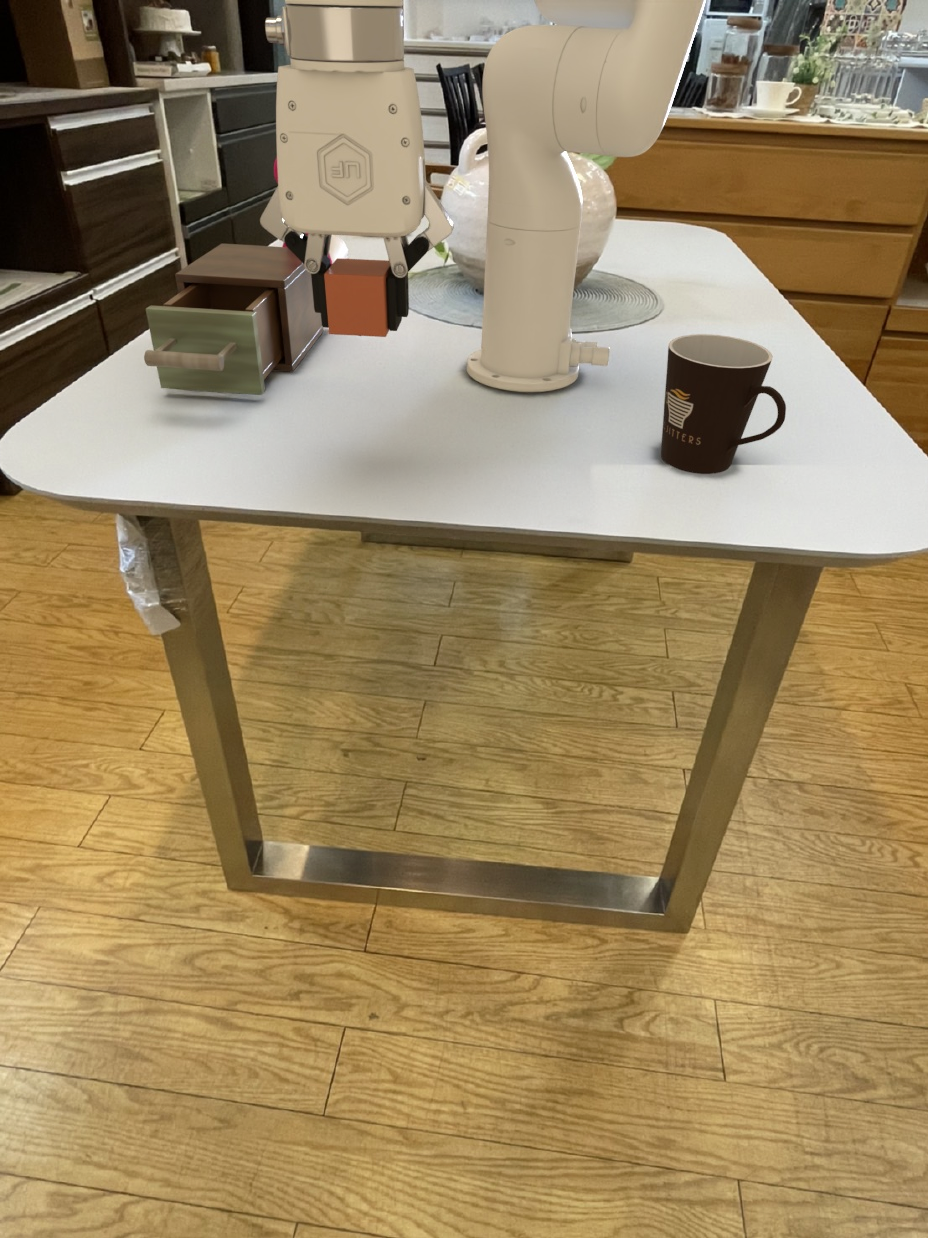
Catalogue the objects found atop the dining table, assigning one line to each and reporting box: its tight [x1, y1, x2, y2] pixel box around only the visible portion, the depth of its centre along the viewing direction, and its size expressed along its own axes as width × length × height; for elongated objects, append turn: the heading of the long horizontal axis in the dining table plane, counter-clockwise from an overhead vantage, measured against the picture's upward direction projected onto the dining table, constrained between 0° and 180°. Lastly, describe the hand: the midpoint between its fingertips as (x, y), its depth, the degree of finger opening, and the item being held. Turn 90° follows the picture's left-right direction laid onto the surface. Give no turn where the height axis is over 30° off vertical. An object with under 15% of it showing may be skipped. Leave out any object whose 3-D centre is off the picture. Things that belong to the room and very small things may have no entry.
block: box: [324, 258, 390, 338], centre depth 62 cm, size 4×4×4 cm
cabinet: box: [174, 243, 324, 373], centre depth 92 cm, size 15×12×10 cm
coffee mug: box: [660, 333, 787, 475], centre depth 70 cm, size 12×9×10 cm
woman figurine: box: [329, 235, 349, 264], centre depth 121 cm, size 12×4×18 cm
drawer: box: [143, 283, 284, 396], centre depth 82 cm, size 19×10×8 cm, turn 175°
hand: (362, 321), depth 64 cm, fingers closed on block, 4 cm apart
